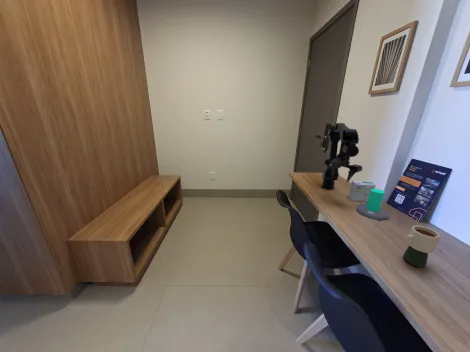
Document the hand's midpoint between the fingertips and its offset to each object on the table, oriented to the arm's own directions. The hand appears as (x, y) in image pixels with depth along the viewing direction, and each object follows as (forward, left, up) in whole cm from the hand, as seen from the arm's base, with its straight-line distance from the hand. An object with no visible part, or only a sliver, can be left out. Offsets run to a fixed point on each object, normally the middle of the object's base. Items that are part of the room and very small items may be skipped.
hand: (339, 179), depth 114 cm
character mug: (+44, -24, -13) cm, 52 cm away
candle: (+19, +2, -11) cm, 22 cm away
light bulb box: (+7, +14, -13) cm, 21 cm away
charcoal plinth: (+19, +2, -13) cm, 23 cm away
